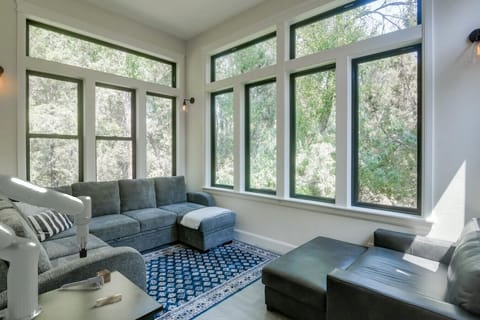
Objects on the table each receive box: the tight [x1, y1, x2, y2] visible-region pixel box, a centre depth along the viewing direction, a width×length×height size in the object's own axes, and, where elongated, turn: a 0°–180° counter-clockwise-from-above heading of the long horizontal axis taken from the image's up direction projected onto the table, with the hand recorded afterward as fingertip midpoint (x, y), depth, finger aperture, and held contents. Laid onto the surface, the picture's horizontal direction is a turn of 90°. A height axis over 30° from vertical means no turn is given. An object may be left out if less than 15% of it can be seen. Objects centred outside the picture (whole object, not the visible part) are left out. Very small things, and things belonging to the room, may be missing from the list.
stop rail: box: [96, 292, 123, 307], centre depth 115 cm, size 10×2×2 cm, turn 121°
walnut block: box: [95, 269, 112, 286], centre depth 134 cm, size 5×5×5 cm
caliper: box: [60, 274, 105, 289], centre depth 127 cm, size 20×1×6 cm, turn 95°
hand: (83, 257), depth 129 cm, fingers closed
